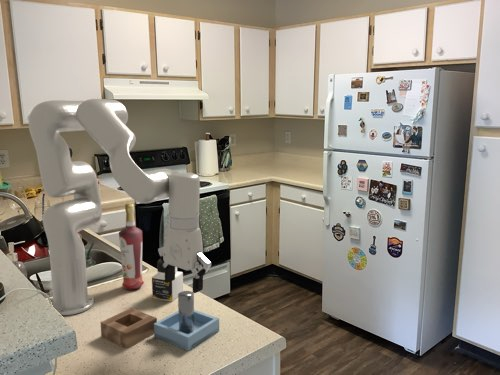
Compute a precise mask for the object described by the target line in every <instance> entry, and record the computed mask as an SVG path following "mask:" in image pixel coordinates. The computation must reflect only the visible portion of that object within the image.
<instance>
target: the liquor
mask: <svg viewBox="0 0 500 375" xmlns="http://www.w3.org/2000/svg"><path fill="white" fill-rule="evenodd" d="M134 206H135V205H134V203H133V202H132V203H130V202H129V203H125V204H124V208H125V215H126V216H125V227H123V228H122V229H121V230H120V231H119V232H118V238H119V249H120V250H119V251H120V256H121V267H122V269H121V270H122V280H123V281H122V287H123V288H125V289H126V290H129V291H134V290H138V289H140V288H141V287H142V286H143V285H144V284H145V282H144V280H143V230H142V229H141V228H138V227H136V222H135V216H134V211H135V207H134Z"/></svg>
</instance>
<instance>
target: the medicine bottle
mask: <svg viewBox="0 0 500 375" xmlns="http://www.w3.org/2000/svg"><path fill="white" fill-rule="evenodd" d="M156 262H157V263H156V265H157V266H156V267H157V273H156V274H154V275H153V276H151V287H152V288H151V289H152V290H151V291H152V294H151V295H152V299H155V300H161V301H166V302H174V301H175V300H176V299H178V294H179V293H180V292H182V291H184V273H183V271H178V267H175V280H173V281H171V282H168V283H165V268H164V267H163V263H162V261H161V259H160V258H159V259H158V260H157V261H156Z"/></svg>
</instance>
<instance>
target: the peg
mask: <svg viewBox="0 0 500 375" xmlns="http://www.w3.org/2000/svg"><path fill="white" fill-rule="evenodd" d="M177 300H178V301H177V303H178V305H177V306H178V310H177V311H179V331H180V332H183V333H185V334H189V333H192V332H193V331H194V310H195V293H193V291H191V290H183V291H182V292H180V293H179V294H178V297H177Z"/></svg>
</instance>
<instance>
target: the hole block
mask: <svg viewBox="0 0 500 375" xmlns="http://www.w3.org/2000/svg"><path fill="white" fill-rule="evenodd" d="M156 322H158V320H157V317H156V316H153V315H151V314H147V313H145V312H142V311H139V310H137V309H135V308H132V307H131V308H127V309H125V310H123V311H122V312H120V313H119V312H118V313H117V314H115V315H113V316H112V317H109V318H106V319H104V320H103V321H100V335H101V336H100V337H101V338H104V339H106V340H107V341H110V342H112V343H114V344H116V345H118V346H121V347H123V348H125V349H129V348H131V347H132V346H134V345H136V344H138V343H140V342H142V341H144V340H145V339H148V337H151V336H152V335H153V336H154V323H156Z"/></svg>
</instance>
